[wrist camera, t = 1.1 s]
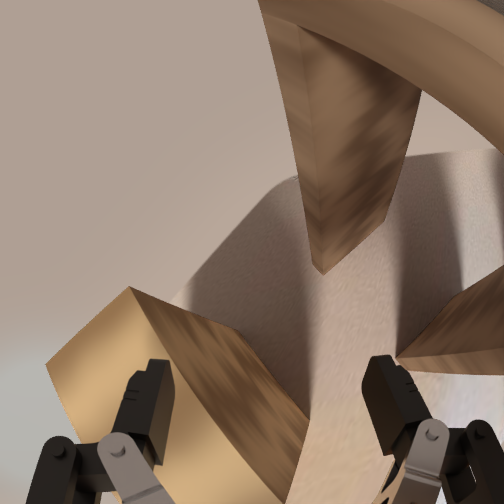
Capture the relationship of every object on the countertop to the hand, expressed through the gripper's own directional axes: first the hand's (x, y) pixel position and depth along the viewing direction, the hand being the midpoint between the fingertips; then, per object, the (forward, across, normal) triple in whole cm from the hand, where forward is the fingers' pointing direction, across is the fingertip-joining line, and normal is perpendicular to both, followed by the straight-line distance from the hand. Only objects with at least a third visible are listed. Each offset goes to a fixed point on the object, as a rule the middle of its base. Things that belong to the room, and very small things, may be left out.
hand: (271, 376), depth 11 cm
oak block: (+14, +1, +18) cm, 23 cm away
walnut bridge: (+19, -15, +7) cm, 25 cm away
